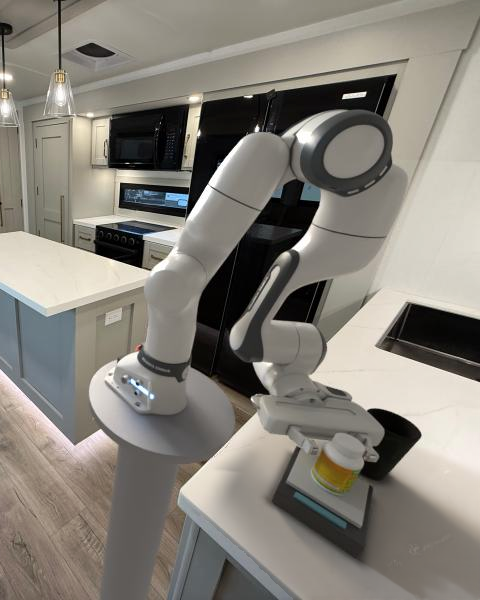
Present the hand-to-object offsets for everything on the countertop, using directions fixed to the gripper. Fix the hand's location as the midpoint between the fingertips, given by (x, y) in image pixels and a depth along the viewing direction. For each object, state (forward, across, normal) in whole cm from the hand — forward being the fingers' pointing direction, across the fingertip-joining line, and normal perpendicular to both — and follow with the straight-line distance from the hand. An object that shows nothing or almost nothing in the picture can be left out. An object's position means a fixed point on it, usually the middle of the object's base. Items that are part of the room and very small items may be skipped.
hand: (342, 455), depth 52 cm
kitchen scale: (+1, 0, +11) cm, 11 cm away
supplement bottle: (0, 0, +7) cm, 7 cm away
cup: (-8, +13, +11) cm, 19 cm away
